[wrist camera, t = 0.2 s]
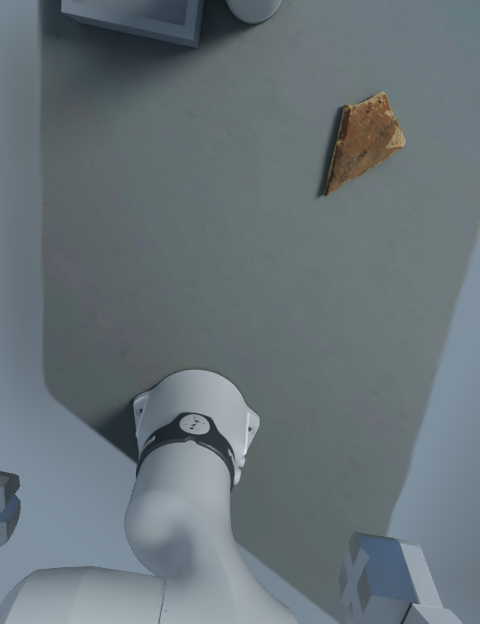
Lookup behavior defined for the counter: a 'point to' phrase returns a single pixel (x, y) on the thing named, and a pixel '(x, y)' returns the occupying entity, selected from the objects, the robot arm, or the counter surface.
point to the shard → (363, 140)
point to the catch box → (142, 17)
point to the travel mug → (253, 9)
